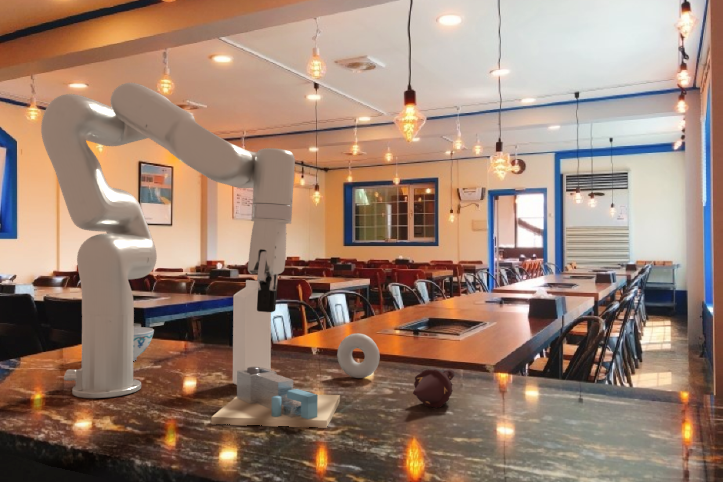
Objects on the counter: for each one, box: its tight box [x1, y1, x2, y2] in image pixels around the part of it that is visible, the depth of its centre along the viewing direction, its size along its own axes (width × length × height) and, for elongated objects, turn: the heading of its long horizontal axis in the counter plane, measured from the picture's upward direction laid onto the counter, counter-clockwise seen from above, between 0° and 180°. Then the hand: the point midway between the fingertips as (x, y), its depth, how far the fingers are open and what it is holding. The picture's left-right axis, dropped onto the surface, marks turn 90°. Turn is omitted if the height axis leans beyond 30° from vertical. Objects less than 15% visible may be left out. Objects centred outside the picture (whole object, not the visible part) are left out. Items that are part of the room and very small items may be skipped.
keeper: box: [271, 388, 319, 419], centre depth 93 cm, size 6×5×5 cm
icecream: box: [412, 369, 455, 409], centre depth 104 cm, size 7×7×15 cm
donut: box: [336, 333, 381, 379], centre depth 126 cm, size 10×4×10 cm, turn 68°
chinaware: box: [133, 326, 155, 362], centre depth 145 cm, size 15×15×8 cm
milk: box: [232, 279, 272, 386], centre depth 120 cm, size 6×6×22 cm
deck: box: [210, 394, 341, 429], centre depth 99 cm, size 19×16×1 cm
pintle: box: [247, 367, 260, 374], centre depth 104 cm, size 2×2×6 cm
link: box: [236, 367, 301, 418], centre depth 99 cm, size 17×5×5 cm, turn 40°
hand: (266, 311), depth 107 cm, fingers closed
